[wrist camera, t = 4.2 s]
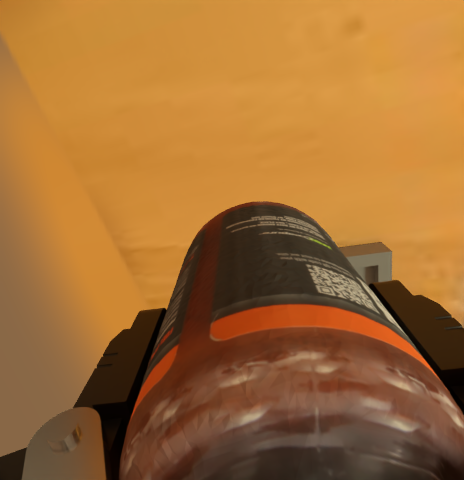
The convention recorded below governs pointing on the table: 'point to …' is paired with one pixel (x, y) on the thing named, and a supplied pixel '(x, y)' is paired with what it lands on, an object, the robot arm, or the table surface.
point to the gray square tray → (370, 261)
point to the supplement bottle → (285, 368)
